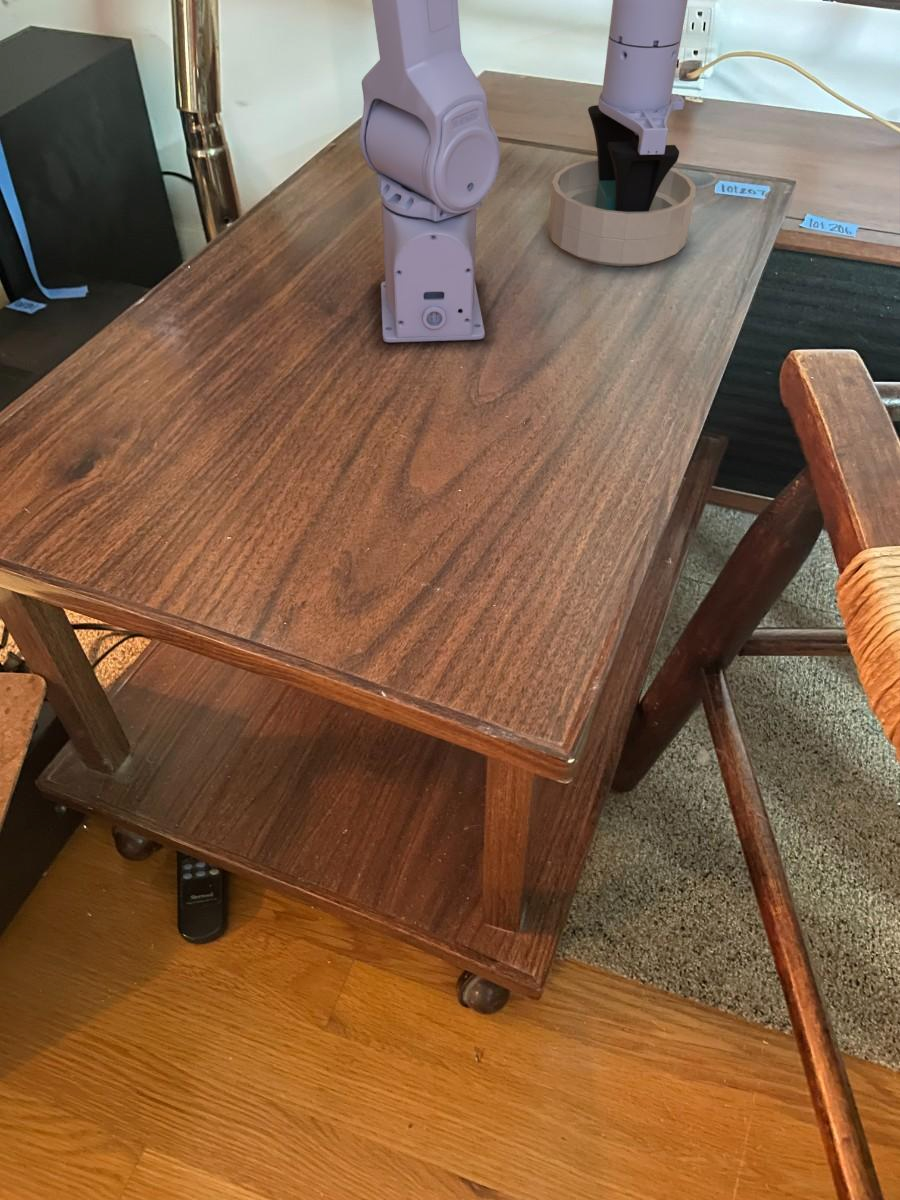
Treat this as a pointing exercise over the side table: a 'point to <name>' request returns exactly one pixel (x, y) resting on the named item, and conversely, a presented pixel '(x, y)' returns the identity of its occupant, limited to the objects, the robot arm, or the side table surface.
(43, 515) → the side table surface
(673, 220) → the bowl
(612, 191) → the block
